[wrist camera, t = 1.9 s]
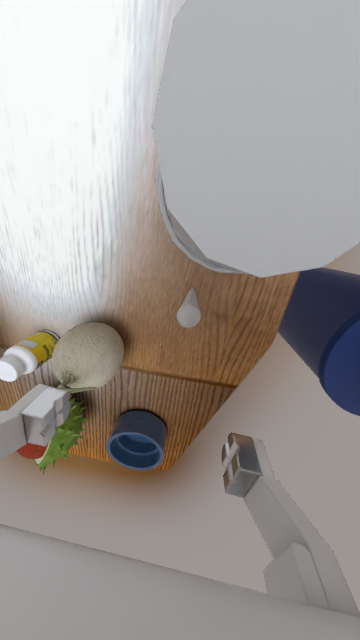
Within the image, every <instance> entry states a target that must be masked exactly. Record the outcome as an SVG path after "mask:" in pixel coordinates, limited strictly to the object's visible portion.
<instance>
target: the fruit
mask: <svg viewBox="0 0 360 640" xmlns="http://www.w3.org/2000/svg"><path fill="white" fill-rule="evenodd" d="M123 358H124V345H123V341H122V339H121V337H120V335H119V334H118V332H117V331H116V330H114V329H113V328H112V327H110V326H108V325H106V324H103V323H97V322H89V323H84V324H80V325H78V326H76V327H74V328H72V329H70V330H69V331H67V332H66V333H65V334H64V335H63V336H62V337H61V338H60V340H59V341H58V343H57V344H56V346H55V348H54V351H53V353H52V360H51V365H52V370H53V373H54V374H55V376H56V378H57V379H58V380H59V381H60V382H61V384H59V385H58V388H57V389H61V390H64V391H68V392H71V393H75V392H82V391H86V390H92V389H96V388H99V387H101V386H103V385H105V384H106V383H108V382H109V381H110V380H111V379H112V378H113V377H114V376H115V375H116V373H117V372H118V370H119V368H120V366H121V364H122V362H123ZM66 386H68V387H70V388H66Z"/></svg>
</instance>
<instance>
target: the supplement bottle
mask: <svg viewBox="0 0 360 640" xmlns="http://www.w3.org/2000/svg"><path fill="white" fill-rule="evenodd" d="M59 340H60V339H59V337H58V336H57V335H56V334H54V333H53V332H51V331H47V330H42V331H39V332H37V333H35V334H34V335H32V336H30V337H28V338H27V339H25V340H23V341H21V342H20V343H18V344H16V345H14V346H12V347H11V348H9V349H8V350H6V352H5V353H4V357H2V358H1V359H0V379H2V380H4V381H14V380H16V379H17V378H19V377H20V376H21V375H22V374H29V373H31V372H33V371H34V370H36V369H37V368H38V367H40V366H41V365H42V364H43V363H45V362H46V361H47V360H48V359H50V358H51V357H52V353H53V351H54V348H55V346H56V344H57V343H58V341H59Z"/></svg>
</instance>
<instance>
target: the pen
mask: <svg viewBox="0 0 360 640" xmlns="http://www.w3.org/2000/svg"><path fill="white" fill-rule="evenodd" d="M200 317H201V315H200V309H199V307H198V300H197V296H196V291H195V290H194V289H193V288H191V289H190V290H189V291H188V293H187V296H186V298H185V300H184V302H183V303H182V306H181V308H180V309H179V311H178V313H177V317H176V318H177V321H178V323H179V324H180V325H181V326H183V327H184V328H191V327H194V326H195V325H197V323H198V322H199V321H200Z"/></svg>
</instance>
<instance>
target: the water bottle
mask: <svg viewBox="0 0 360 640" xmlns="http://www.w3.org/2000/svg"><path fill="white" fill-rule="evenodd" d="M152 130H153V135H154V141H155V146H156V151H157V156H158V165H157V171H156V178H155V183H156V189H157V195H158V201H159V207H160V212H161V216H162V218H163V220H164V223H165V225H166V227H167V230H168V232H169V234H170V236H171V239H172V241H173V242H174V243H175V244H176V245H177V246H178V247H179V248H180V249H181V250H182V251H183V252H184V253H185V254H186V255H187V256H188V257H189V258H190V259H191V260H192V261H194V262H196V263H198V264H200V265H202V266H203V267H206V268H208V269H210V270H212V271H214V272H223V273H243V274H247V275H251V276H256V277H260V278H262V277H268V276H274V275H279V274H285V273H291V272H296V271H302V270H308V269H313V268H319V267H324V266H326V265H327V264H329V263H330V262H332V261H333V260H335V259H336V258H337V257H339V256H340V255H342V254H343V253H345V252H346V251H348V250H349V249H351V248H352V247H354V246H355V245H357V244H358V243H360V0H186V1H185V2H184V4H183V5H182V7H181V8H180V10H179V11H178V13H177V14H176V16H175V17H174V19H173V24H172V29H171V34H170V39H169V44H168V49H167V54H166V59H165V64H164V69H163V74H162V79H161V84H160V89H159V94H158V99H157V104H156V109H155V114H154V119H153V124H152ZM163 186H164V189H163ZM164 192H165V197H166V202H167V207H168V211H169V214H170V217H171V220H172V224H171V221H170V218H169V216H168V213H167V208H166V204H165V199H164ZM172 225H173V226H172ZM177 235H178V236H177ZM178 237H179V238H180V239H181V240H182V241H181V240H180V239H179V238H178ZM182 242H183V243H184V244H185V245H186V246H185V245H184V244H183V243H182Z"/></svg>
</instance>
